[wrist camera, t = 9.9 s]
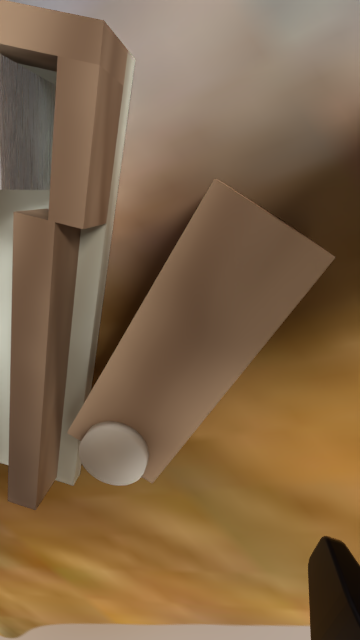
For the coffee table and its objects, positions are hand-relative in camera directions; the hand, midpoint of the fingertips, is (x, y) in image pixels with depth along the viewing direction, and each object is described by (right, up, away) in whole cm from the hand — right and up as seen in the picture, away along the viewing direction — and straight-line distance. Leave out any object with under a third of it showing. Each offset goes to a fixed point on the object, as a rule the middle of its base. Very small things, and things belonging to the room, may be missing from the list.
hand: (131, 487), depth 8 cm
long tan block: (+2, +4, +10) cm, 11 cm away
